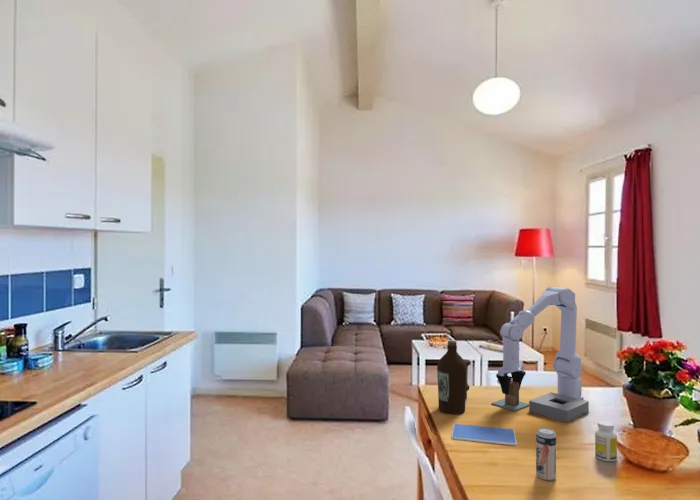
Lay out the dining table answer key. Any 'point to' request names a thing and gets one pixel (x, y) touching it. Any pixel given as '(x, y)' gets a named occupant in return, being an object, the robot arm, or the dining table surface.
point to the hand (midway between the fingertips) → (511, 391)
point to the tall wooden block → (512, 394)
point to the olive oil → (452, 381)
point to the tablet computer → (484, 434)
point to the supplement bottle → (606, 442)
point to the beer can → (546, 454)
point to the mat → (515, 408)
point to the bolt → (466, 379)
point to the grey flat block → (559, 406)
